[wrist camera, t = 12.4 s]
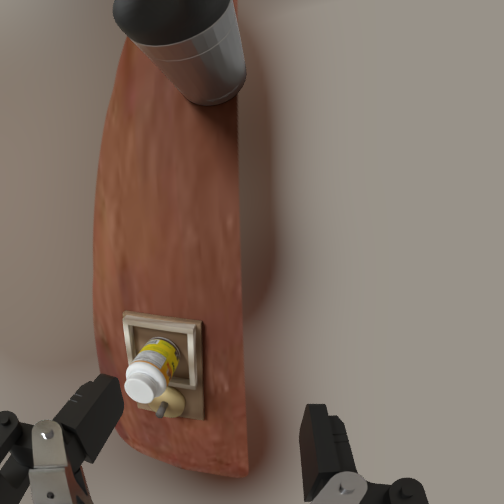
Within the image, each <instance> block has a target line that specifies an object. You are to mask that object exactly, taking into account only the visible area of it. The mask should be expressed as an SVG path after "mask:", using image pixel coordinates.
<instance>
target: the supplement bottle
mask: <svg viewBox="0 0 504 504" xmlns="http://www.w3.org/2000/svg"><path fill="white" fill-rule="evenodd" d="M179 361H180V353H179V350H178V348H177V347H176V345H175V344H174V343H173V342H171V341H170V340H168V339H166V338H163V337H155V338H152V339H150V340H149V341H148V342H147V343H146V344H145V346H144V347H143V348H142V350H141V351H140V352H139V353H138V355H137V356H136V357H135V359H134V360H133V361H132V363H131V364H130V365H129V367H128V369H127V371H126V378H127V381H126V382H125V390H126V392H127V394H128V395H129V396H130V397H131V398H132V399H133V400H135V401H137V402H139V403H144V404H146V403H150V402H152V401H153V399H154V398H155V397H159V396H161V395H162V394H163V393H164V391H165V390H166V388H167V386H168V384H169V382H170V380H171V378H172V376H173V373H174V371H175V369H176V367H177V365H178V363H179Z"/></svg>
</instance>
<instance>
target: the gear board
mask: <svg viewBox="0 0 504 504" xmlns="http://www.w3.org/2000/svg"><path fill="white" fill-rule="evenodd" d="M123 328H124V335H125V343H126V349H127V356H128V362H129V365H130V364H131V363H132V361H133V360H134V359H135V357H136V356H137V355H138V353H139V352H140V351H141V350H142V348H143V347H144V346H145V344H146V343H147V342H148V341H149V340H150V339H152V338H155V337H163V338H166V339H168V340H170V341H171V342H173V343H174V344H175V345H176V347H177V348H178V350H179V353H180V361H179V363H178V365H177V367H176V369H175V371H174V373H173V376H172V378H171V380H170V382H169V384H168V386H167V388H166V390H165V391H164V393H163V394H162V395H161V396H159V397H155V398H154V399H153V401H152V402H150V403H146V404H144V403H139V402H137V405H138V408H141V409H146V410H150V411H154V412H156V416H157V417H158V418H163V416H165V417H171V418H172V417H178V416H179V417H185V418H191V419H197V420H204V417H205V415H204V392H203V358H202V321H200V320H191V319H183V318H175V317H167V316H159V315H152V314H145V313H139V312H132V311H126V310H125V311H124V312H123Z"/></svg>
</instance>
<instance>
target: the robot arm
mask: <svg viewBox="0 0 504 504" xmlns="http://www.w3.org/2000/svg"><path fill="white" fill-rule="evenodd" d="M113 16H114V19H115V22H116V23H117V25H118V26H119V27H120V29H121V30H122V31H123V32H124V33H125V34H126V35H127V36H128V37H129V38H130V39H131V40H132V41H133V42H134V43H135V44H136V45H137V46H138V47H139V48H140V49H141V50H142V51H143V52H144V53H145V54H146V55H147V56H148V57H149V58H150V59H151V61H152V62H153V63H154V64H155V65H156V66H157V67H158V68H159V69H160V70H161V71H162V72H163V73H164V74H165V76H166V77H167V78H168V79H169V80H170V81H171V82H172V83H173V84H174V85H175V87H176V88H177V89H178V90H179V91H180V92H181V93H182V94H183V95H184V96H185V97H186V99H188V100H189V101H191V102H193V103H195V104H198V105H204V106H212V105H217V104H221V103H223V102H226V101H228V100H229V99H231V98H233V97H234V96H235V95H236V94H237V93H238V92H239V91H240V89H241V88H242V87H243V85H244V82H245V79H246V66H245V61H244V55H243V50H242V44H241V39H240V34H239V29H238V24H237V19H236V14H235V10H234V5H233V0H115V1H114V4H113ZM123 410H124V401H123V397H122V393H121V389H120V384H119V380H118V378H116V377H113V376H109V375H106V374H100V375H99V376H98V377H97V378H96V379H95V380H94V382H92V381H89V382H88V383H86V384H84V385H82V386H81V387H80V388H79V389H78V390H77V391H76V393H75V395H73V396H72V397H71V398H70V400H69V401H68V402H67V403H66V404H65V405H64V407H63V408H62V409H61V410H60V411H59V413H58V414H57V415H56V417H54V419H53V420H42V421H39V422H37V423H36V424H35V425H30V424H26V423H21V422H19V420H18V418H17V416H16V415H15V414H14V413H13V412H10V411H2V412H0V463H1V462H2V460H3V459H4V458H5V456H6V455H7V453H8V452H10V453H11V456H10V457H9V459H8V460H7V461H6V463H5V464H4V466H3V467H2V468H1V470H0V504H19V503H20V501H21V499H22V497H23V496H24V494H25V492H26V490H27V488H28V487H29V485H30V487H31V494H32V500H33V504H94V503H93V501H92V499H91V496H90V493H89V490H88V486H87V483H86V479H85V476H84V472H83V468H82V466H81V464H82V463H83V461H87V462H89V463H92V464H93V463H94V461H95V460H96V458H97V456H98V454H99V452H100V451H101V449H102V448H103V446H104V444H105V442H106V441H107V439H108V437H109V436H110V434H111V432H112V430H113V429H114V427H115V426H116V424H117V422H118V421H119V419H120V417H121V416H122V413H123ZM346 434H347V433H346V429H345V425H344V423H343V422H342V421H341V420H340V419H339V417H338V416H328V412H327V407H326V405H325V404H307V405H306V408H305V412H304V416H303V420H302V423H301V427H300V433H299V444H300V454H301V466H302V478H303V490H304V501H305V502H311V501H312V502H311V503H310V504H429V503H428V500H427V497H426V494H425V491H424V488H423V486H422V484H421V483H420V482H418V481H417V480H415V479H412V478H401V479H399V480H397V481H395V482H394V483H393V484H392V485H385V484H375V483H370V482H368V481H366V480H365V479H364V478H363V477H362V476H361V475H359V474H358V472H357V470H356V467H355V463H354V459H353V455H352V452H351V448H350V444H349V440H348V437H347V435H346Z"/></svg>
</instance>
